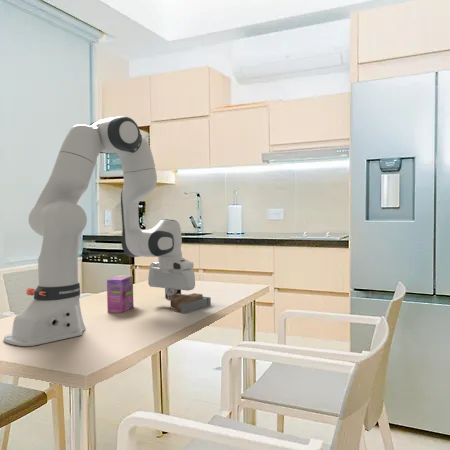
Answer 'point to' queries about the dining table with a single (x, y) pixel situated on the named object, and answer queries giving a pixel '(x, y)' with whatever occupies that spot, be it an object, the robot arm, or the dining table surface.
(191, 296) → the t block
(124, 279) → the box
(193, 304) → the corner fence
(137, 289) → the dining table surface
